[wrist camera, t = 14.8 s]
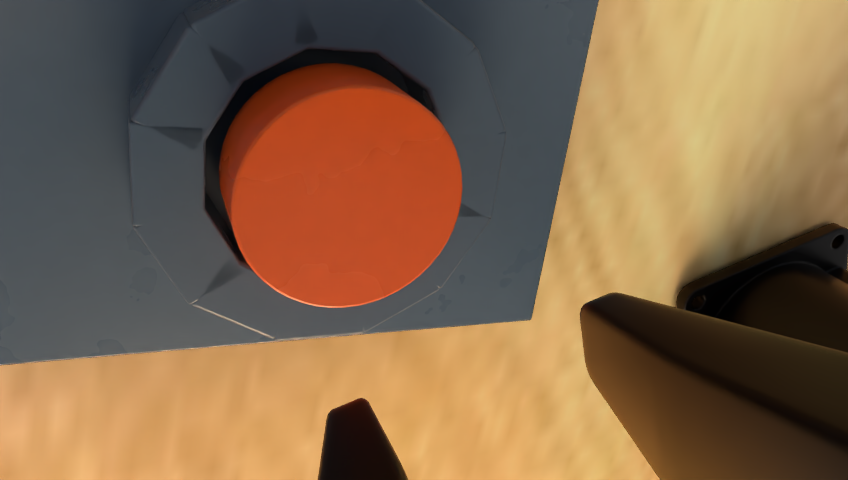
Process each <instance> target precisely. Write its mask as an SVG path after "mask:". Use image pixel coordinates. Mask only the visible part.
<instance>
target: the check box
mask: <svg viewBox="0 0 848 480" xmlns="http://www.w3.org/2000/svg"><path fill="white" fill-rule="evenodd" d="M598 1H599V0H0V365H10V364H21V363H33V362H45V361H57V360H68V359H80V358H92V357H103V356H115V355H127V354H139V353H150V352H162V351H174V350H185V349H197V348H209V347H221V346H232V345H244V344H256V343H267V342H279V341H291V340H303V339H314V338H326V337H338V336H349V335H361V334H373V333H384V332H396V331H408V330H420V329H431V328H443V327H455V326H466V325H478V324H490V323H502V322H513V321H525V320H531V318H532V313H533V308H534V304H535V299H536V294H537V289H538V285H539V280H540V275H541V271H542V266H543V261H544V256H545V252H546V247H547V242H548V237H549V233H550V228H551V223H552V219H553V214H554V209H555V204H556V200H557V195H558V190H559V185H560V181H561V176H562V171H563V167H564V162H565V157H566V152H567V148H568V143H569V138H570V133H571V129H572V124H573V119H574V115H575V110H576V105H577V100H578V96H579V91H580V86H581V81H582V77H583V72H584V67H585V62H586V58H587V53H588V48H589V44H590V39H591V34H592V29H593V25H594V20H595V15H596V10H597V6H598ZM322 63H340V64H348V65H354V66H357V67H361V68H365V69H367V70H370V71H372V72H374V73H377V74H379V75H381V76H382V77H384V78H385V79H387V80H389V81H390V82H392V83H393V84H395V85H396V86H397V87H399V88H400V89H401V90H403V91H404V92H406V93H407V94H408V95H410V96H411V97H413V98H414V99H415V100H417V101H418V102H419V103H421V104H422V105H423V106H425V107H426V108H427V109H428V110H429V111H431V112H432V113H433V114H434V115H435V116H436V118H437V119H438V120H439V121H440V122H441V123H442V125H443V126H444V128H445V129H446V131H447V132H448V133H449V135H450V137H451V139H452V141H453V143H454V145H455V148H456V151H457V154H458V157H459V160H460V166H461V172H462V198H461V205H460V210H459V214H458V218H457V221H456V223H455V226H454V229H453V231H452V233H451V235H450V237H449V239H448V241H447V243H446V245H445V246H444V248H443V249H442V251H441V253H440V254H439V255H438V256H437V258H436V259H435V260H434V261H433V263H432V264H431V265H430V266H429V267H428V268H427V269H426V270H425V271H424V272H423V273H422V274H421V275H420V276H418V277H417V278H416V279H415V280H414V281H412V282H411V283H410V284H408V285H407V286H405V287H404V288H402V289H400V290H399V291H397V292H395V293H393V294H391V295H389V296H387V297H385V298H382V299H380V300H377V301H374V302H371V303H367V304H363V305H359V306H352V307H344V308H328V307H319V306H313V305H309V304H305V303H301V302H298V301H296V300H293V299H291V298H288V297H286V296H284V295H282V294H281V293H279V292H277V291H275V290H274V289H273V288H271V287H270V286H269V285H267V284H266V283H265V282H264V281H263V280H262V279H261V278H260V277H259V276H258V275H256V274H255V273H254V271H253V270H252V268H251V267H250V266H249V264H248V263H247V262H246V260H245V258H244V257H243V255H242V253H241V251H240V249H239V247H238V244H237V241H236V238H235V236H234V233H233V229H232V226H231V223H230V220H229V217H228V214H227V211H226V208H225V205H224V202H223V199H222V194H221V190H220V184H219V162H220V154H221V150H222V146H223V142H224V139H225V137H226V134H227V131H228V129H229V127H230V125H231V123H232V121H233V120H234V118H235V116H236V115H237V113H238V112H239V111H240V109H241V108H242V106H243V105H244V104H245V103H246V102H247V101H248V100H249V99H250V98H251V96H252V95H253V94H254V93H255V92H257V91H258V90H259V89H260V88H262V87H263V86H264V85H266V84H267V83H268V82H270V81H272V80H273V79H275V78H277V77H278V76H280V75H282V74H285V73H287V72H289V71H292V70H294V69H298V68H301V67H305V66H308V65H315V64H322Z"/></svg>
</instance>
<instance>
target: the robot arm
mask: <svg viewBox="0 0 848 480" xmlns="http://www.w3.org/2000/svg"><path fill="white" fill-rule="evenodd" d="M847 258H848V229H846V228H844V227H842V226H840V225H838V224H835V223H831V224H828V225H825V226H823V227H821V228H818V229H816V230H814V231H811V232H809V233H807V234H804V235H802V236H800V237H797V238H795V239H793V240H790V241H788V242H786V243H783V244H781V245H779V246H776V247H774V248H772V249H769V250H767V251H764V252H762V253H760V254H757V255H755V256H753V257H750V258H748V259H746V260H743V261H741V262H739V263H736V264H734V265H732V266H729V267H727V268H725V269H722V270H720V271H718V272H715V273H713V274H711V275H708V276H706V277H703V278H701V279H699V280H696V281H694V282H692V283H689V284H688V285H686V286H685V287H684V288H683V289H682V290H681V291H680V292H679V294H678V296H677V301H676V306H677V308H675V307H671V306H667V305H663V304H660V303H656V302H652V301H648V300H644V299H641V298H637V297H633V296H629V295H625V294H621V293H610V294H607V295H604V296H602V297H600V298H597V299H595V300H592V301H590V302H588V303H586V304H585V305H584V306H583V307H582V308H581V312H580V321H581V330H582V338H583V347H584V355H585V363H586V367H587V370H588V373H589V375H590V377H591V379H592V381H593V382H594V384H595V386H596V387H597V388H598V390H599V391H600V393H601V394H602V396H603V397H604V399H605V400H606V402H607V403H608V404H609V406H610V407H611V409H612V410H613V412H614V413H615V415H616V416H617V418H618V419H619V420H620V422H621V423H622V425H623V426H624V428H625V429H626V431H627V432H628V434H629V435H630V436H631V438H632V439H633V441H634V442H635V444H636V445H637V447H638V448H639V450H640V451H641V452H642V454H643V455H644V457H645V458H646V460H647V461H648V463H649V464H650V466H651V467H652V468H653V470H654V471H655V473H656V474H657V476H658V477H659V478H660V480H848V271H847V270H846V267H847ZM694 298H695V299H694ZM318 480H408V478H407V475H406V473H405V471H404V469H403V467H402V465H401V462H400V461H399V459H398V457H397V455H396V453H395V451H394V449H393V447H392V445H391V444H390V442H389V440H388V438H387V436H386V434H385V432H384V430H383V429H382V427H381V425H380V423H379V421H378V419H377V417H376V415H375V413H374V412H373V410H372V408H371V406H370V404H369V402H368V401H367V400H365V399H363V398H359V399H357V400H354V401H352V402H349V403H347V404H345V405H342V406H340V407H338V408H335V409H333V410H331V411H330V412H329V414H328V416H327V420H326V427H325V434H324V441H323V448H322V454H321V461H320V468H319V475H318Z"/></svg>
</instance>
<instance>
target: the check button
mask: <svg viewBox="0 0 848 480" xmlns="http://www.w3.org/2000/svg"><path fill="white" fill-rule="evenodd" d="M219 184H220V190H221V194H222V199H223V202H224V205H225V208H226V211H227V214H228V217H229V220H230V223H231V226H232V229H233V233H234V236H235V238H236V241H237V244H238V247H239V249H240V251H241V253H242V255H243V257H244V258H245V260H246V262H247V263H248V264H249V266H250V267H251V268H252V270H253V271H254V273H255V274H256V275H258V276H259V277H260V278H261V279H262V280H263V281H264V282H265V283H266V284H267V285H269V286H270V287H271V288H273V289H274V290H275V291H277V292H279V293H281V294H282V295H284V296H286V297H288V298H291V299H293V300H296V301H298V302H301V303H305V304H309V305H313V306H319V307H328V308H344V307H352V306H359V305H363V304H367V303H371V302H374V301H377V300H380V299H382V298H385V297H387V296H389V295H391V294H393V293H395V292H397V291H399V290H400V289H402V288H404V287H405V286H407V285H408V284H410V283H411V282H412V281H414V280H415V279H416V278H417V277H418V276H420V275H421V274H422V273H423V272H424V271H425V270H426V269H427V268H428V267H429V266H430V265H431V264H432V263H433V261H434V260H435V259H436V258H437V256H438V255H439V254H440V253H441V251H442V249H443V248H444V246H445V245H446V243H447V241H448V239H449V237H450V235H451V233H452V231H453V229H454V226H455V223H456V221H457V218H458V214H459V210H460V205H461V198H462V172H461V166H460V160H459V157H458V154H457V151H456V148H455V145H454V143H453V141H452V139H451V137H450V135H449V133H448V132H447V131H446V129H445V128H444V126H443V125H442V123H441V122H440V121H439V120H438V119H437V118H436V116H435V115H434V114H433V113H432V112H431V111H429V110H428V109H427V108H426V107H425V106H423V105H422V104H421V103H419V102H418V101H417V100H415V99H414V98H413V97H411V96H410V95H408V94H407V93H406V92H404V91H403V90H401V89H400V88H399V87H397V86H396V85H395V84H393V83H392V82H390V81H389V80H387V79H385V78H384V77H382V76H381V75H379V74H377V73H374V72H372V71H370V70H367V69H365V68H361V67H357V66H354V65H348V64H340V63H322V64H315V65H308V66H305V67H301V68H298V69H294V70H292V71H289V72H287V73H285V74H282V75H280V76H278V77H277V78H275V79H273V80H272V81H270V82H268V83H267V84H266V85H264V86H263V87H262V88H260V89H259V90H258V91H257V92H255V93H254V94H253V95H252V96H251V98H250V99H249V100H248V101H247V102H246V103H245V104H244V105H243V106H242V108H241V109H240V111H239V112H238V113H237V115H236V116H235V118H234V120H233V121H232V123H231V125H230V127H229V129H228V131H227V134H226V137H225V139H224V142H223V146H222V150H221V154H220V162H219Z"/></svg>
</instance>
